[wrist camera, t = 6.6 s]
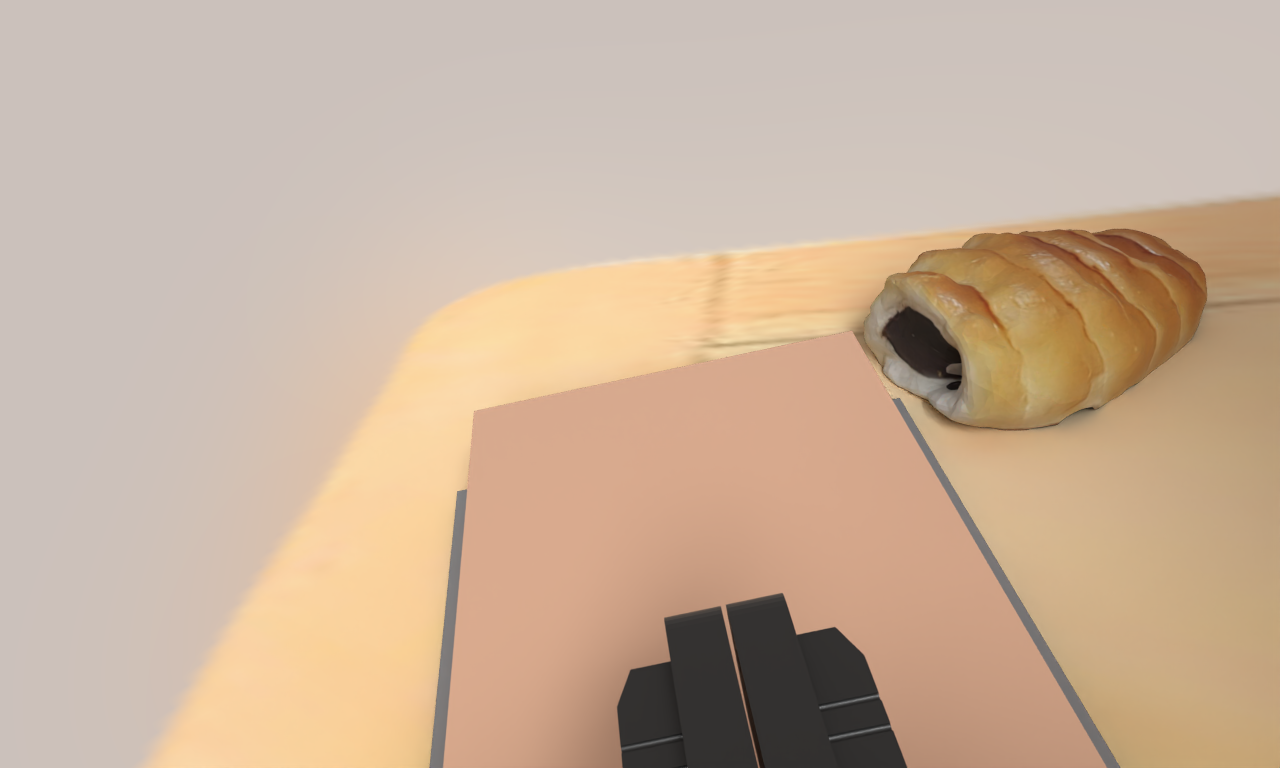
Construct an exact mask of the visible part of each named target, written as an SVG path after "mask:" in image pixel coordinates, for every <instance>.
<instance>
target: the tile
mask: <svg viewBox="0 0 1280 768" xmlns="http://www.w3.org/2000/svg"><path fill="white" fill-rule="evenodd" d="M779 593H783V595H784V597H785V600H786V603H787V606H788V609H789V612H790V615H791V618H792V622H793V625H794V628H795V631H796V634H797V635H798V634H803V633H808V632H812V631H817V630H822V629H827V628H832V627H836V628H837V629H838V630H839V631H840V632H841V633H842V634H843V635H844V636H845V637H846V638H847V639H848V640H849V641H850V642H851V643H852V644H853V645H855V646H856V647H857V648H858V649H859V650H860V651H861V652H862V653H863V654H864V655H865V658H866V660H867V663H868V666H869V668H870V671H871V674H872V676H873V679H874V681H875V684H876V687H877V689H878V692H879V696H880V699H881V700H882V702H883V705H884V708H885V710H886V713H887V715H888V718H889V721H890V724H891V728H892V730H893V731H894V734H895V736H896V739H897V742H898V744H899V747H900V749H901V752H902V755H903V757H904V760H905V762H906V765H907V768H1107V767H1106V765H1105V763H1104V762H1103V760H1102V758H1101V756H1100V755H1099V753H1098V751H1097V750H1096V748H1095V746H1094V744H1093V743H1092V741H1091V739H1090V738H1089V736H1088V734H1087V732H1086V731H1085V729H1084V727H1083V726H1082V724H1081V722H1080V720H1079V719H1078V717H1077V715H1076V714H1075V712H1074V710H1073V708H1072V707H1071V705H1070V703H1069V702H1068V700H1067V698H1066V696H1065V695H1064V693H1063V691H1062V690H1061V688H1060V686H1059V684H1058V683H1057V681H1056V679H1055V678H1054V676H1053V674H1052V673H1051V671H1050V669H1049V667H1048V666H1047V664H1046V662H1045V661H1044V659H1043V657H1042V655H1041V654H1040V652H1039V650H1038V649H1037V647H1036V645H1035V643H1034V642H1033V640H1032V638H1031V637H1030V635H1029V633H1028V631H1027V630H1026V628H1025V626H1024V625H1023V623H1022V621H1021V619H1020V618H1019V616H1018V614H1017V613H1016V611H1015V609H1014V607H1013V606H1012V604H1011V602H1010V601H1009V599H1008V597H1007V595H1006V594H1005V592H1004V590H1003V589H1002V587H1001V585H1000V583H999V582H998V580H997V578H996V577H995V575H994V573H993V571H992V570H991V568H990V566H989V565H988V563H987V561H986V559H985V558H984V556H983V554H982V553H981V551H980V549H979V547H978V546H977V544H976V542H975V541H974V539H973V537H972V536H971V534H970V532H969V530H968V529H967V527H966V525H965V524H964V522H963V520H962V518H961V517H960V515H959V513H958V512H957V510H956V508H955V506H954V505H953V503H952V501H951V500H950V498H949V496H948V494H947V493H946V491H945V489H944V488H943V486H942V484H941V482H940V481H939V479H938V477H937V476H936V474H935V472H934V470H933V469H932V467H931V465H930V464H929V462H928V460H927V458H926V457H925V455H924V453H923V452H922V450H921V448H920V446H919V445H918V443H917V441H916V440H915V438H914V436H913V434H912V433H911V431H910V429H909V428H908V426H907V424H906V422H905V421H904V419H903V417H902V416H901V414H900V412H899V411H898V409H897V407H896V405H895V404H894V402H893V400H892V399H891V397H890V395H889V393H888V392H887V390H886V388H885V387H884V385H883V383H882V381H881V380H880V378H879V376H878V375H877V373H876V371H875V369H874V368H873V366H872V364H871V363H870V361H869V359H868V357H867V356H866V354H865V352H864V351H863V349H862V347H861V345H860V344H859V342H858V340H857V339H856V337H855V335H854V333H853V332H852V331H848V332H843V333H839V334H834V335H829V336H825V337H820V338H815V339H811V340H806V341H801V342H796V343H792V344H787V345H782V346H778V347H773V348H768V349H764V350H759V351H754V352H749V353H745V354H740V355H735V356H731V357H726V358H721V359H717V360H712V361H707V362H702V363H698V364H693V365H688V366H684V367H679V368H674V369H670V370H665V371H660V372H655V373H651V374H646V375H641V376H637V377H632V378H627V379H623V380H618V381H613V382H608V383H604V384H599V385H594V386H590V387H585V388H580V389H576V390H571V391H566V392H561V393H557V394H552V395H547V396H543V397H538V398H533V399H529V400H524V401H519V402H514V403H510V404H505V405H500V406H496V407H491V408H486V409H481V410H477V411H474V418H473V430H472V441H471V453H470V464H469V476H468V487H467V499H466V510H465V522H464V533H463V544H462V556H461V567H460V579H459V590H458V602H457V613H456V625H455V636H454V648H453V659H452V671H451V682H450V694H449V705H448V717H447V728H446V740H445V751H444V763H443V768H623V767H622V757H621V753H622V751H621V746H620V736H619V725H618V714H617V705H618V702H619V700H620V697H621V694H622V691H623V689H624V686H625V683H626V680H627V678H628V675H629V672H630V670H631V669H636V668H641V667H645V666H650V665H655V664H660V663H665V662H669V661H671V660H670V654H669V648H668V642H667V635H666V629H665V622H664V618H665V617H670V616H675V615H679V614H684V613H689V612H694V611H699V610H703V609H708V608H713V607H718V606H721V609H722V613H723V617H724V622H725V626H726V630H727V635H728V639H729V643H730V648H731V652H732V656H733V660H734V665H735V669H736V673H737V678H738V682H739V686H740V691H741V695H742V699H743V704H744V708H745V712H746V717H747V721H748V725H749V730H750V734H751V738H752V743H753V747H754V751H755V756H756V760H757V764H758V768H760V767H759V762H758V758H757V754H756V750H755V745H754V741H753V737H752V732H751V728H750V723H749V719H748V714H747V710H746V705H745V700H744V696H743V691H742V686H741V681H740V676H739V671H738V666H737V661H736V655H735V650H734V645H733V640H732V635H731V630H730V625H729V620H728V615H727V610H726V604H731V603H736V602H740V601H745V600H750V599H755V598H759V597H764V596H769V595H774V594H779Z"/></svg>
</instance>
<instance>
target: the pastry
mask: <svg viewBox="0 0 1280 768" xmlns="http://www.w3.org/2000/svg"><path fill="white" fill-rule="evenodd" d="M1206 301H1207V288H1206V278H1205V274H1204V272H1203V270H1202V269H1201V267H1200V265H1199V264H1198V263H1197V262H1195V261H1193V260H1192V259H1190V258H1188V257H1187V256H1185V255H1184V254H1183V253H1181V252H1180V251H1178V250H1174V249H1172V248H1171V246H1169V245H1168V244H1167V243H1166V242H1165V241H1163V240H1162V239H1160V238H1157V237H1155V236H1152V235H1149V234H1146V233H1143V232H1139V231H1135V230H1129V229H1111V230H1106V231H1102V232H1097V233H1090V232H1087V231H1084V230H1052V231H1045V232H1041V231H1038V232H1028V231H1025V232H1021V233H1019V234H1012V233H1002V234H993V233H985V234H978V235H974V236H973V237H972V238H971V239H969V240H968V241H967V242H966V243H965V244H964V246H963V247H962V248H957V249H946V250H932V251H927V252H924V253H922V254H921V255H919V257H918V259H917V260H916V261H915V262H914V263H913V264H912V265H911V267H910V269H909V271H908V272H907V273H897V274H894V275H891V276H889V277H888V278H887V280H886V283H885V287H884V289H883V291H882V292H881V293H880V294H879V295H878V296H877V298H876V299H875V301H874V302H873V304H872V305H871V313H870V314H869V315H868V316H867V317H866V319H865V321H864V339H865V342H866V344H867V345H868V346H869V348H870V349H871V350H872V352H873V353H874V354H875V356H876V358H877V360H878V362H879V364H880V365H882V366H884V369H883V372H884V374H885V375H886V376H887V377H888V378H889V379H890V380H891V381H892V382H893V383H894V384H896V385H897V386H899V387H901V388H903V389H905V390H908V391H909V392H911V393H913V394H915V395H917V396H919V397H922V398H924V399H926V400H929V402H930V403H931V404H932V405H933V406H934V407H935V408H936V409H937V410H938V411H940V412H941V413H942V414H944V415H945V416H946V417H948V418H949V419H951V420H953V421H955V422H958V423H962V424H966V425H971V426H977V427H981V428H982V427H991V428H996V429H1001V430H1027V429H1031V428H1037V427H1044V426H1050V425H1057V424H1058V423H1060V422H1061V421H1062V420H1063V419H1064V418H1066V417H1067V416H1068V415H1070V414H1072V413H1074V412H1076V411H1078V410H1081V409H1084V408H1089V407H1093V408H1094V409H1098V408H1099V407H1101V406H1103V405H1104V404H1106V403H1107V402H1109V401H1110V400H1112V399H1114V398H1117V397H1118V396H1120V395H1122V394H1123V392H1124V391H1125V390H1127V389H1128V388H1129V387H1131V386H1133V385H1135V384H1137V383H1139V382H1140V381H1142V380H1143V379H1144V378H1145V377H1146V376H1147V375H1148V374H1150V373H1151V372H1152V371H1153V370H1155V369H1156V368H1157V367H1158V366H1160V365H1161V364H1163V363H1164V362H1166V361H1167V360H1168V359H1169V358H1171V357H1172V356H1173V355H1174V354H1175V353H1177V352H1178V351H1179V350H1180V349H1181V348H1182V347H1183V346H1185V345H1186V344H1187V343H1188V342H1189V341H1190V340H1191V338H1192V337H1193V335H1194V334H1195V332H1196V329H1197V327H1198V325H1199V321H1200V318H1201V315H1202V311H1203V308H1204V306H1205V303H1206Z"/></svg>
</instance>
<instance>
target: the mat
mask: <svg viewBox="0 0 1280 768" xmlns="http://www.w3.org/2000/svg"><path fill="white" fill-rule="evenodd" d="M893 402H894V404H895V405H896V407H897V409H898V411H899V412H900V414H901V416H902V417H903V419H904V421H905V422H906V424H907V426H908V428H909V429H910V431H911V433H912V434H913V436H914V438H915V440H916V441H917V443H918V445H919V446H920V448H921V450H922V452H923V453H924V455H925V457H926V458H927V460H928V462H929V464H930V465H931V467H932V469H933V470H934V472H935V474H936V476H937V477H938V479H939V481H940V482H941V484H942V486H943V488H944V489H945V491H946V493H947V494H948V496H949V498H950V500H951V501H952V503H953V505H954V506H955V508H956V510H957V512H958V513H959V515H960V517H961V518H962V520H963V522H964V524H965V525H966V527H967V529H968V530H969V532H970V534H971V536H972V537H973V539H974V541H975V542H976V544H977V546H978V547H979V549H980V551H981V553H982V554H983V556H984V558H985V559H986V561H987V563H988V565H989V566H990V568H991V570H992V571H993V573H994V575H995V577H996V578H997V580H998V582H999V583H1000V585H1001V587H1002V589H1003V590H1004V592H1005V594H1006V595H1007V597H1008V599H1009V601H1010V602H1011V604H1012V606H1013V607H1014V609H1015V611H1016V613H1017V614H1018V616H1019V618H1020V619H1021V621H1022V623H1023V625H1024V626H1025V628H1026V630H1027V631H1028V633H1029V635H1030V637H1031V638H1032V640H1033V642H1034V643H1035V645H1036V647H1037V649H1038V650H1039V652H1040V654H1041V655H1042V657H1043V659H1044V661H1045V662H1046V664H1047V666H1048V667H1049V669H1050V671H1051V673H1052V674H1053V676H1054V678H1055V679H1056V681H1057V683H1058V684H1059V686H1060V688H1061V690H1062V691H1063V693H1064V695H1065V696H1066V698H1067V700H1068V702H1069V703H1070V705H1071V707H1072V708H1073V710H1074V712H1075V714H1076V715H1077V717H1078V719H1079V720H1080V722H1081V724H1082V726H1083V727H1084V729H1085V731H1086V732H1087V734H1088V736H1089V738H1090V739H1091V741H1092V743H1093V744H1094V746H1095V748H1096V750H1097V751H1098V753H1099V755H1100V756H1101V758H1102V760H1103V762H1104V763H1105V765H1106V767H1107V768H1120V766H1119V764H1118V763H1117V761H1116V759H1115V758H1114V756H1113V754H1112V753H1111V751H1110V749H1109V748H1108V746H1107V744H1106V743H1105V741H1104V739H1103V738H1102V736H1101V734H1100V733H1099V731H1098V729H1097V728H1096V726H1095V724H1094V723H1093V721H1092V719H1091V718H1090V716H1089V714H1088V713H1087V711H1086V709H1085V707H1084V706H1083V704H1082V702H1081V701H1080V699H1079V697H1078V696H1077V694H1076V692H1075V691H1074V689H1073V687H1072V686H1071V684H1070V682H1069V681H1068V679H1067V677H1066V676H1065V674H1064V672H1063V671H1062V669H1061V667H1060V666H1059V664H1058V662H1057V661H1056V659H1055V657H1054V656H1053V654H1052V652H1051V651H1050V649H1049V647H1048V646H1047V644H1046V642H1045V641H1044V639H1043V637H1042V636H1041V634H1040V632H1039V630H1038V629H1037V627H1036V625H1035V624H1034V622H1033V620H1032V619H1031V617H1030V615H1029V614H1028V612H1027V610H1026V609H1025V607H1024V605H1023V604H1022V602H1021V600H1020V599H1019V597H1018V595H1017V594H1016V592H1015V590H1014V589H1013V587H1012V585H1011V584H1010V582H1009V580H1008V579H1007V577H1006V575H1005V574H1004V572H1003V570H1002V569H1001V567H1000V565H999V564H998V562H997V560H996V559H995V557H994V555H993V554H992V552H991V550H990V548H989V547H988V545H987V543H986V542H985V540H984V538H983V537H982V535H981V533H980V532H979V530H978V528H977V527H976V525H975V523H974V522H973V520H972V518H971V517H970V515H969V513H968V512H967V510H966V508H965V507H964V505H963V503H962V502H961V500H960V498H959V497H958V495H957V493H956V492H955V490H954V488H953V487H952V485H951V483H950V482H949V480H948V478H947V477H946V475H945V473H944V472H943V470H942V468H941V466H940V465H939V463H938V461H937V460H936V458H935V456H934V455H933V453H932V451H931V450H930V448H929V446H928V445H927V443H926V441H925V440H924V438H923V436H922V435H921V433H920V431H919V430H918V428H917V426H916V425H915V423H914V421H913V420H912V418H911V416H910V415H909V413H908V411H907V410H906V408H905V406H904V405H903V403H902V401H901V400H900V398H897V399H893ZM466 499H467V490H462V491H457V500H456V510H455V520H454V530H453V540H452V550H451V560H450V570H449V580H448V590H447V600H446V610H445V620H444V630H443V639H442V649H441V659H440V669H439V679H438V689H437V699H436V709H435V719H434V729H433V739H432V749H431V759H430V768H443V763H444V751H445V740H446V728H447V717H448V705H449V694H450V682H451V671H452V659H453V648H454V636H455V625H456V613H457V602H458V590H459V579H460V567H461V556H462V544H463V533H464V522H465V510H466Z"/></svg>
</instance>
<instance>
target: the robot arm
mask: <svg viewBox="0 0 1280 768" xmlns="http://www.w3.org/2000/svg"><path fill="white" fill-rule="evenodd" d="M726 610H727V615H728V620H729V625H730V630H731V635H732V640H733V645H734V650H735V655H736V661H737V666H738V671H739V676H740V681H741V686H742V691H743V696H744V700H745V705H746V710H747V714H748V719H749V723H750V728H751V732H752V737H753V741H754V745H755V750H756V754H757V758H758V762H759V767H760V768H907V765H906V762H905V760H904V757H903V755H902V752H901V749H900V747H899V744H898V742H897V739H896V736H895V734H894V731H893V730H892V728H891V724H890V721H889V718H888V715H887V713H886V710H885V708H884V705H883V702H882V700H881V699H880V696H879V692H878V689H877V687H876V684H875V681H874V679H873V676H872V674H871V671H870V668H869V666H868V663H867V660H866V658H865V655H864V654H863V653H862V652H861V651H860V650H859V649H858V648H857V647H856V646H855V645H853V644H852V643H851V642H850V641H849V640H848V639H847V638H846V637H845V636H844V635H843V634H842V633H841V632H840V631H839V630H838V629H837V628H836V627H832V628H827V629H822V630H817V631H812V632H808V633H803V634H798V635H797V634H796V631H795V628H794V625H793V622H792V618H791V615H790V612H789V609H788V606H787V603H786V600H785V597H784V595H783V593H779V594H774V595H769V596H764V597H759V598H755V599H750V600H745V601H740V602H736V603H731V604H726ZM664 622H665V629H666V635H667V642H668V648H669V654H670V660H671V661H669V662H665V663H660V664H655V665H650V666H645V667H641V668H636V669H631V670H630V672H629V675H628V678H627V680H626V683H625V686H624V689H623V691H622V694H621V697H620V700H619V702H618V705H617V714H618V725H619V736H620V746H621V751H622V753H621V757H622V767H623V768H758V764H757V760H756V756H755V751H754V747H753V743H752V738H751V734H750V730H749V725H748V721H747V717H746V712H745V708H744V704H743V699H742V695H741V691H740V686H739V682H738V678H737V673H736V669H735V665H734V660H733V656H732V652H731V648H730V643H729V639H728V635H727V630H726V626H725V622H724V617H723V613H722V609H721V606H718V607H713V608H708V609H703V610H699V611H694V612H689V613H684V614H679V615H675V616H670V617H665V618H664Z"/></svg>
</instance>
